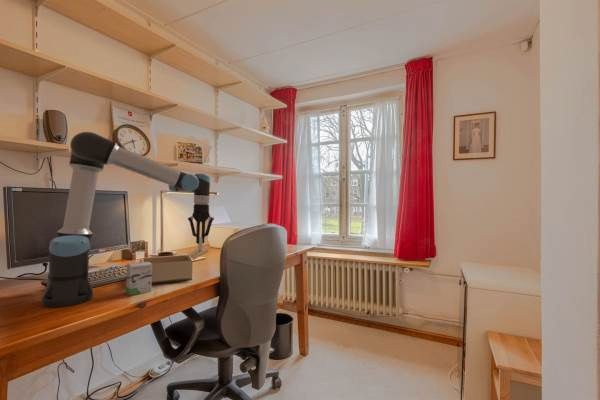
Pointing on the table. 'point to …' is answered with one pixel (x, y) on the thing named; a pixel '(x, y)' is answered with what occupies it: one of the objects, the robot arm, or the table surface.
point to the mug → (165, 254)
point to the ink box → (138, 278)
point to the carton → (170, 268)
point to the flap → (198, 253)
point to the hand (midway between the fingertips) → (200, 249)
